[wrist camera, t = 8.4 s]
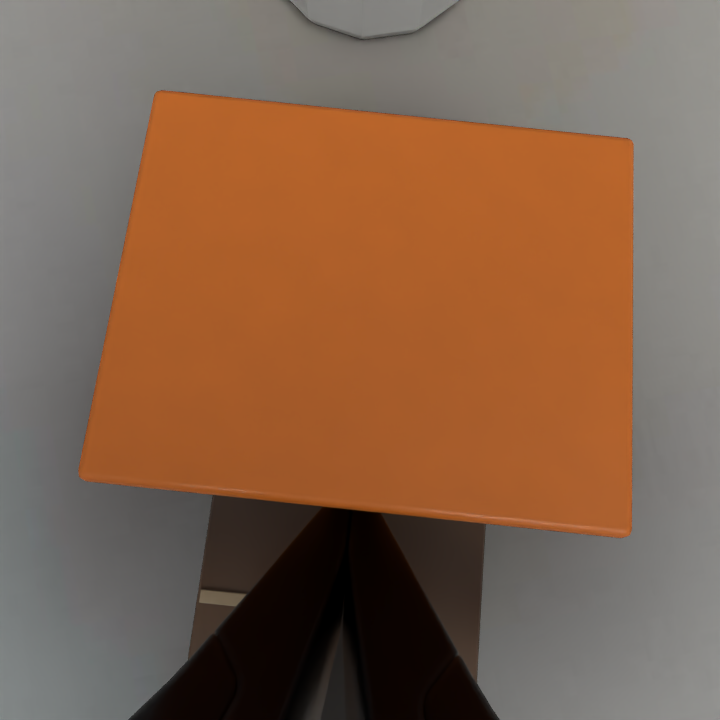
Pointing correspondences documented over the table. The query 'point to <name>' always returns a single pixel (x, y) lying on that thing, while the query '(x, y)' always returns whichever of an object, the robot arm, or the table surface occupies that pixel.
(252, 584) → the rail
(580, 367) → the orange rectangular block
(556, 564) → the table surface
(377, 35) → the water bottle
